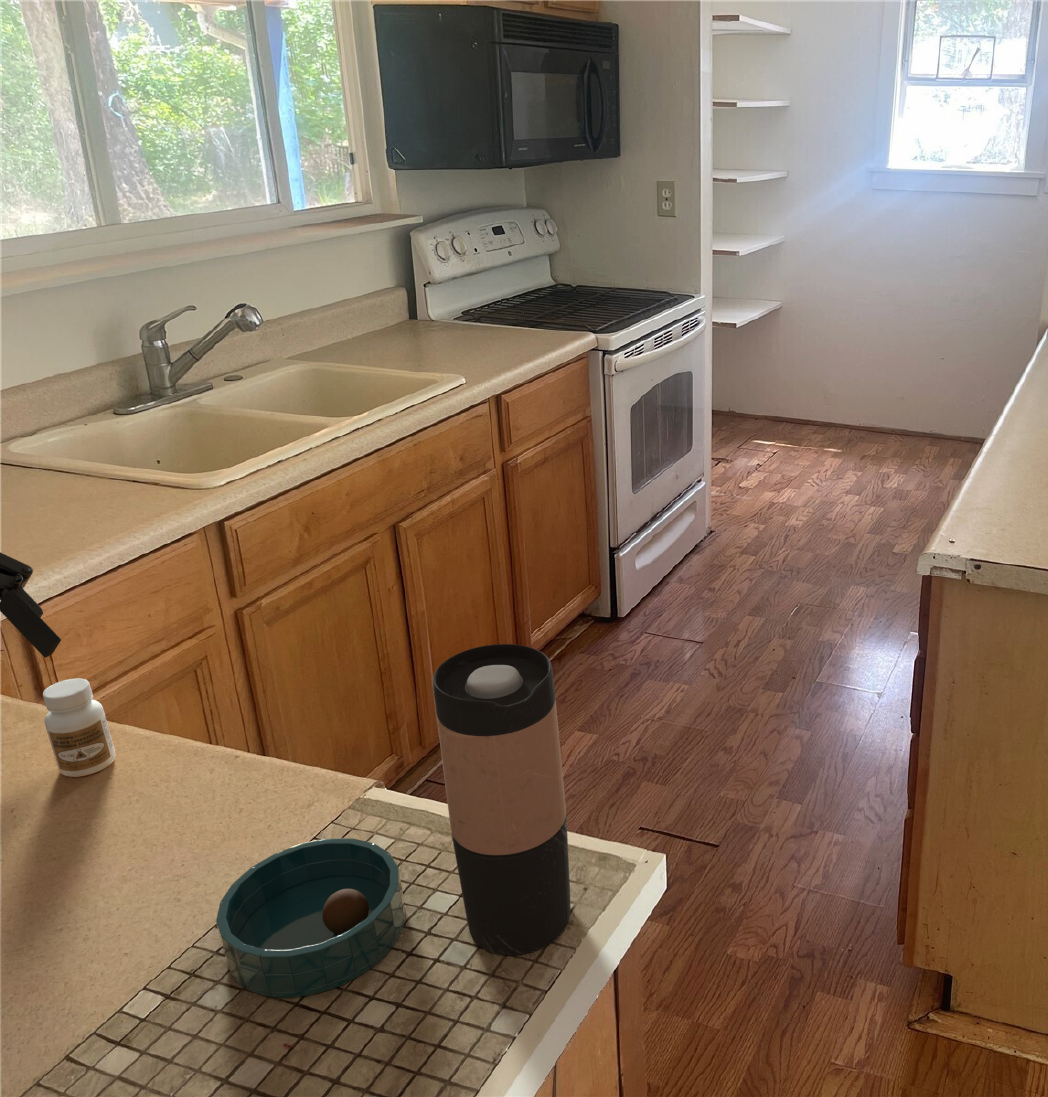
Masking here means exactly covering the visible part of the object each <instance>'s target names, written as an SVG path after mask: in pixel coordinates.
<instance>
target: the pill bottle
mask: <svg viewBox="0 0 1048 1097" xmlns="http://www.w3.org/2000/svg"><path fill="white" fill-rule="evenodd" d="M42 698H43V701H44V706H45V707H46V709H47V711H48V713H46V715H45V717H44V726H45V730H46V732H47V735H48V739H49V743H50V746H51V749H52V754H53V756H54V759H55V762H56V766H57V768H58V771H59V773H60V774H61V775H64V776H65V777H69V778H70V777H71V778H79V777H86V776H90V775H93V774H96V773H98V772H100V771H102V770H104V769H106V768H108V767H109V766H110V765H111V764H112V763H113V762H114V761H115V759H116V756H117V755H116V749H115V745H114V742H113V738H112V735H111V731H110V727H109V725H108V720H107V716H106V714H105V710H104V707H103V705H102V704H101V703H100V702H99V701H98V700H96V699H94V695H93V690H92V688H91V684H90V681H89V680H87V679H85V678H79V677H77V678H69V679H64V680H60V681H57V682H55V683H53V684H51V685H49V686H48V687H46V688H45V689H44V690H43V693H42Z"/></svg>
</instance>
